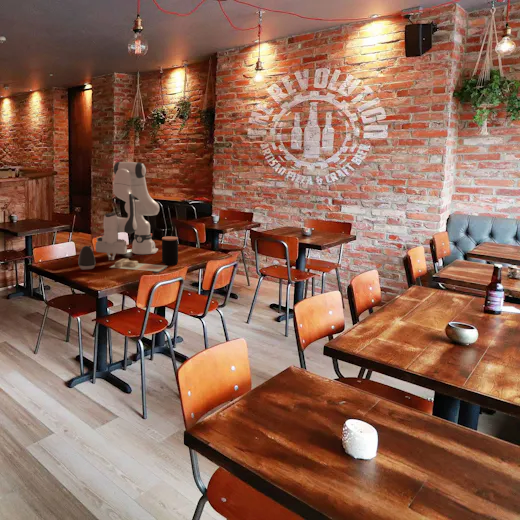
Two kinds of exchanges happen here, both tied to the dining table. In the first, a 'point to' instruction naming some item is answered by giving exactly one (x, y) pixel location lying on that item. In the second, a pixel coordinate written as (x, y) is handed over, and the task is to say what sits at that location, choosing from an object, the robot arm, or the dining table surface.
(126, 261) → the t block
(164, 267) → the board
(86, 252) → the dark egg shaped speaker
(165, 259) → the coffee jar
